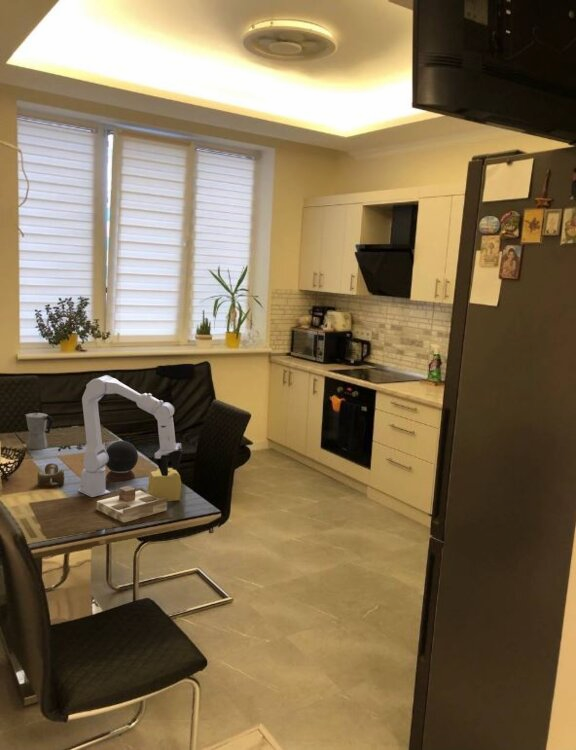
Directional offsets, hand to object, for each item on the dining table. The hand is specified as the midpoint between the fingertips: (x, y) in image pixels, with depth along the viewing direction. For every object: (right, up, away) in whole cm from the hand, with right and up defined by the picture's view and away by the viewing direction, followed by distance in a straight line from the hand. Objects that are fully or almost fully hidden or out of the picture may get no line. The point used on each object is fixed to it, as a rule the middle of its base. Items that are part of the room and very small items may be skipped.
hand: (170, 472), depth 230 cm
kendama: (-49, -6, +14) cm, 51 cm away
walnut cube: (-14, -8, -8) cm, 18 cm away
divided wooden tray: (-12, -12, -10) cm, 19 cm away
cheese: (-3, -10, +5) cm, 12 cm away
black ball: (-25, -6, +25) cm, 36 cm away
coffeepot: (-72, +2, +60) cm, 94 cm away
